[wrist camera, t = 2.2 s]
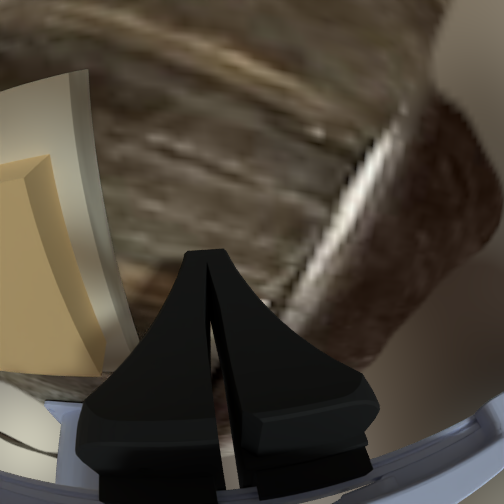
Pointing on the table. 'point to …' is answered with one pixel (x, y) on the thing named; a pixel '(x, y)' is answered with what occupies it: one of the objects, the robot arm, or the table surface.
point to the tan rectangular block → (42, 281)
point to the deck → (73, 190)
